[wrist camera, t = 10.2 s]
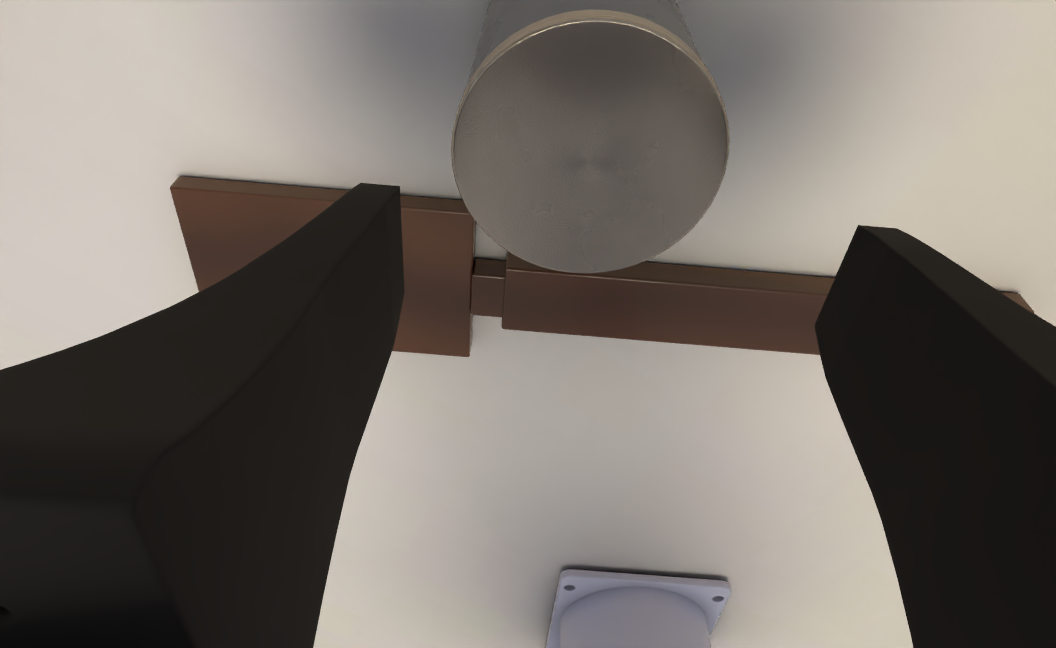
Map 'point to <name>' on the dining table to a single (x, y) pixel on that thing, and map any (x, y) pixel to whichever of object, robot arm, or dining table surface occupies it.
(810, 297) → the spatula
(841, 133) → the dining table surface
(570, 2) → the tin
